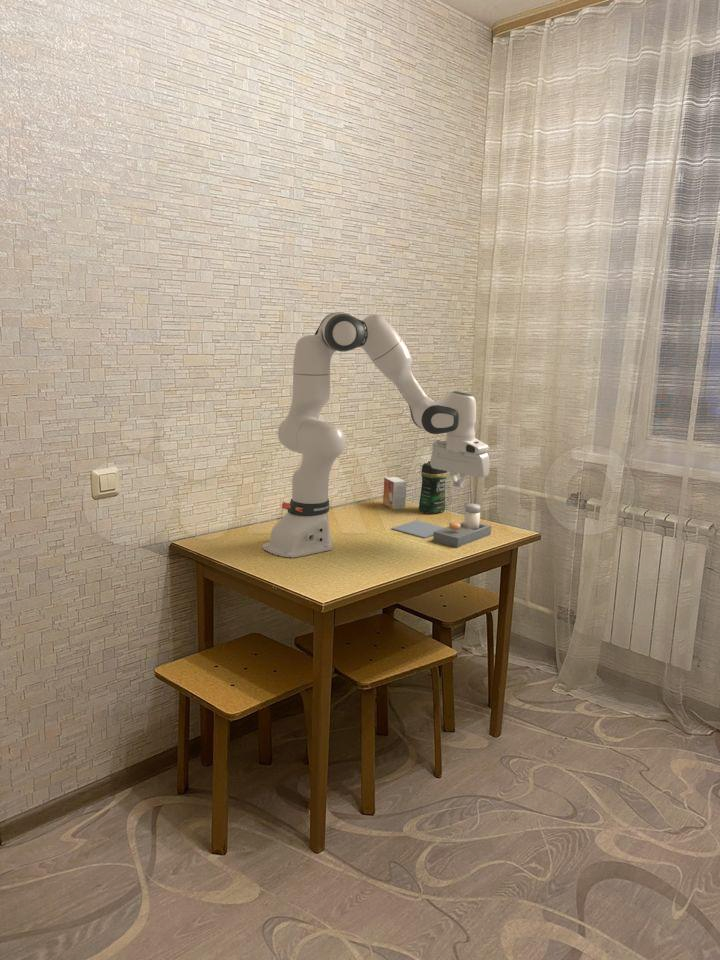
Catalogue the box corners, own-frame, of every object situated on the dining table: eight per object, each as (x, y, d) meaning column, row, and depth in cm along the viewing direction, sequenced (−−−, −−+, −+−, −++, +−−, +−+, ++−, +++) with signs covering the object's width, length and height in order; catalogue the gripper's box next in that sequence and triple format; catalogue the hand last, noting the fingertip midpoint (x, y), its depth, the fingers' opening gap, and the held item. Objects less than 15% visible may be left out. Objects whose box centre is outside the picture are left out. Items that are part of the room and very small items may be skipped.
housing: (457, 547, 233) (458, 538, 232) (433, 540, 239) (433, 531, 238) (490, 534, 247) (491, 526, 247) (466, 528, 253) (467, 520, 253)
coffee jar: (431, 515, 268) (433, 465, 263) (415, 511, 273) (417, 461, 269) (449, 511, 274) (452, 462, 270) (433, 507, 280) (435, 458, 276)
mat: (424, 538, 241) (424, 537, 241) (391, 529, 250) (391, 528, 250) (449, 529, 251) (449, 528, 251) (416, 521, 260) (416, 520, 260)
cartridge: (473, 537, 243) (475, 508, 241) (460, 534, 247) (462, 505, 244) (481, 534, 247) (483, 505, 245) (468, 531, 250) (470, 502, 248)
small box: (382, 504, 281) (383, 477, 279) (395, 503, 284) (396, 476, 281) (392, 509, 274) (393, 482, 272) (405, 508, 277) (407, 481, 274)
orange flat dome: (456, 530, 236) (456, 526, 236) (447, 528, 238) (447, 523, 238) (462, 528, 239) (462, 524, 238) (453, 526, 241) (453, 521, 241)
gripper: (427, 440, 237) (425, 482, 240) (482, 449, 224) (479, 493, 227) (438, 438, 241) (436, 479, 244) (493, 446, 228) (490, 490, 231)
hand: (457, 486), depth 235 cm, fingers closed
